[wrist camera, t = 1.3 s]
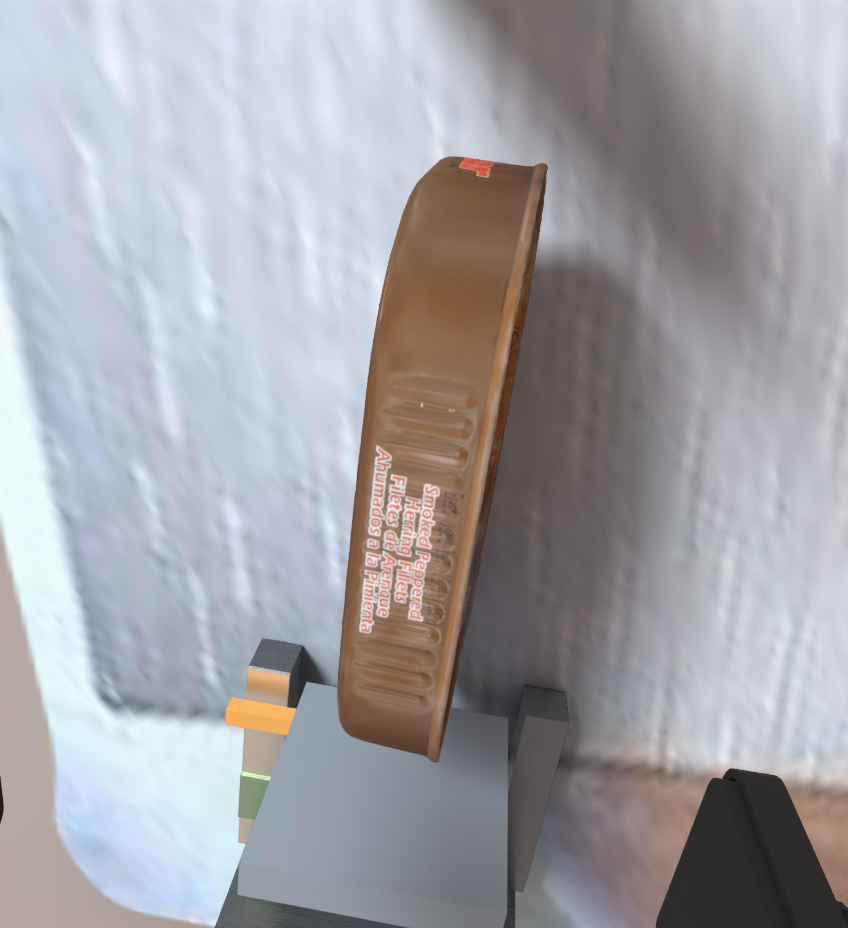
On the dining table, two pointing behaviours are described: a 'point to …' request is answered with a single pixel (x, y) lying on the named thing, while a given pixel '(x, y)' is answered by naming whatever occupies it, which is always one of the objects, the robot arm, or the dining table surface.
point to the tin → (433, 443)
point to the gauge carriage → (379, 819)
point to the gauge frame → (529, 784)
